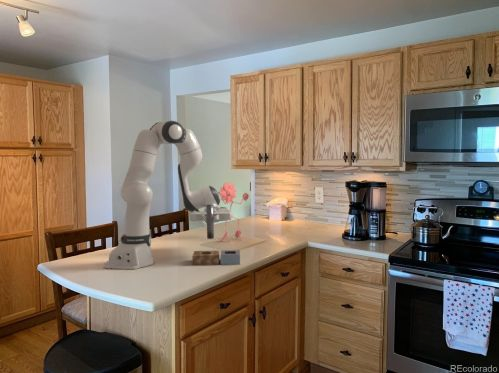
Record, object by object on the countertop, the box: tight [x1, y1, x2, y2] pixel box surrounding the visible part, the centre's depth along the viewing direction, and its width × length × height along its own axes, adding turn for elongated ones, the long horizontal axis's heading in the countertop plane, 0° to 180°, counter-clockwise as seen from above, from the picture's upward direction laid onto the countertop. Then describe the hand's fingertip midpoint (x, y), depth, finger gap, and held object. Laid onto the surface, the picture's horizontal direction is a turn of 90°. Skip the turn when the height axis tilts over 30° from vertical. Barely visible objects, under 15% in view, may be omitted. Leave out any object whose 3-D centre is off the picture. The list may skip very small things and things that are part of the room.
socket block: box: [220, 249, 241, 266], centre depth 183 cm, size 9×9×4 cm
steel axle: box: [206, 204, 215, 240], centre depth 182 cm, size 3×3×16 cm
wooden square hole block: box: [192, 250, 220, 266], centre depth 183 cm, size 12×9×4 cm
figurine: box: [212, 182, 250, 243], centre depth 232 cm, size 15×26×35 cm, turn 130°
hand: (210, 218), depth 181 cm, fingers closed on steel axle, 3 cm apart
